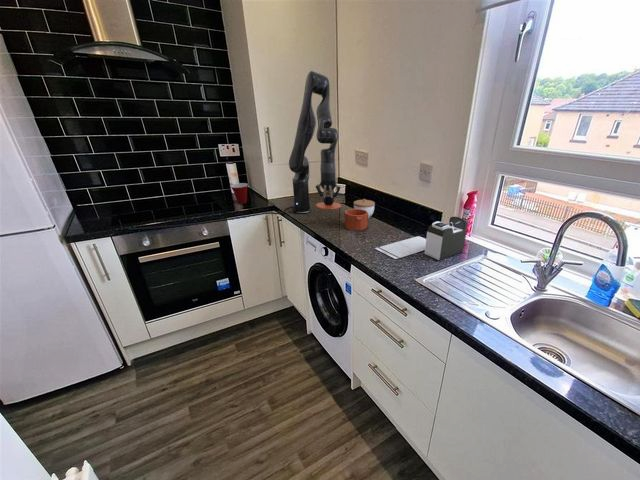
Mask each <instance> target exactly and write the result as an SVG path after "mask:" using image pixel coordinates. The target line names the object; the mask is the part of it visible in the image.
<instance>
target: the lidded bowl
mask: <svg viewBox="0 0 640 480" xmlns="http://www.w3.org/2000/svg"><path fill="white" fill-rule="evenodd" d="M375 206H376V203H375V201H374V200H370V199H366V198H363V199H357V200H355V201H353V209H362V210H365V211H367V212H368V219H370V218H371V217H372V216H373V214H374V212H375Z"/></svg>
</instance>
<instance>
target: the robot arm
mask: <svg viewBox="0 0 640 480" xmlns="http://www.w3.org/2000/svg"><path fill="white" fill-rule="evenodd" d="M313 94H315V95H318V96H320V97H321V101H320V102H319V104H318V105H317V107H316V113H315V112H314V108H313V103H312V101H313ZM301 104H302V105H301V109H300V114H299V119H298V123H297V128H296V133H295V137H294V142H293V147H292V150H291V153H290V156H289V159H288V167H289V169H290V171H291V172H292V173H294V176H293V178H292V189H293V192H292V193H293V203H291V206H288V207H287V208H285V209H284V210H283V211H282V212H272V211H268V212H267V211H266V212H259V213H253V214H248V215H247V214H246V215H241V216H235V217H229V218H228V217H227V218H221V219H214V220H208V221H207V220H206V221H201V222H200V221H199V222H192V223H191V222H190V223H182V224H171V225H159V226H147V227H144V226H143V227H129V228H127V231H137V230H139V231H140V230H153V229H154V230H155V229H167V228H177V227H179V228H180V227H189V226H196V225H204V224H210V223H211V224H213V223H216V222H224V221H231V220H237V219H244V218H249V217H255V216H262V215H269V214H270V215H283V214H285V212H286V211H288V210H290V209H291V211H294V214H308V213H311V206H310V187H309V179H310V162H309V159H308V158H307V156H306V155H305V154H306V151H307V149H308V147H309V145H310V143H311V141H312V139H313V137H314V135H315V131H316V141H318V143H320V144H329V146H328V147H326V148H322V149H321V150H320V169H319V170H320V182H319V184H316V185H315V190H316V191H317V192H318V194H319V197H321V198H323V202H324V204H325V205H326V196H327V194H328V192H329V196H331V198H330V205H332V204H333V203H334V202H335V201H334V198H337V196H338V194H339V192H340V190H341V189H342V186H341V185H338V184H337V182H336V176H337V175H336V149H337V144H338V140H339V136H340V135H339V131H338V129H337V128H336V127H332V126H333V118H332V112H331V85H330V79H329V78H328V76H326V75H325V74H322V73H319V72H316V71H314V70H309V72H308V73H307V75H306V79H305V86H304V93H303V99H302V103H301ZM315 114H316V115H315ZM316 127H317V130H316ZM334 189H335V190H336V191H335V193H334ZM322 190H323V192H322Z"/></svg>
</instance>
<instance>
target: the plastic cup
mask: <svg viewBox="0 0 640 480" xmlns="http://www.w3.org/2000/svg"><path fill="white" fill-rule="evenodd" d="M248 185H249V184H248V183H246V182H239V183H234V184H231V185H230V186H229V187H230V188H231V189H232V191H233V194H234V197H235V199H236V202H237V204H240V205H243V204H247V203H248V202H247V201H248Z"/></svg>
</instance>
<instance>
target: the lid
mask: <svg viewBox="0 0 640 480" xmlns="http://www.w3.org/2000/svg"><path fill="white" fill-rule="evenodd" d="M330 198H331V196H330V194H329V195H326V205H325V204H324V201H321V202H317V203H316V204H315V207H316V208H318V209H320V210H321V209H322V210H329V211H330V210H338V209H340V208H342V204H341V203H339V202H336V201H334V203H333V204H332V205H330Z"/></svg>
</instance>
